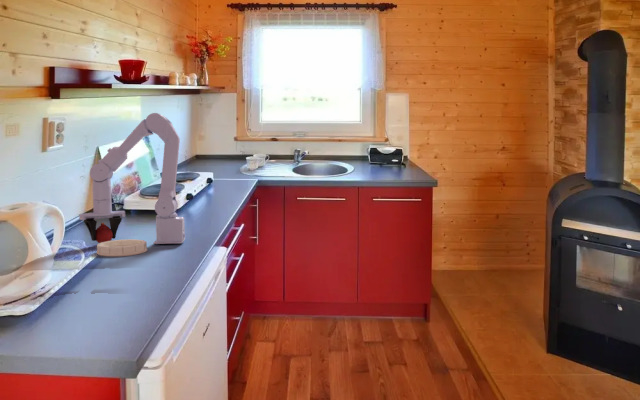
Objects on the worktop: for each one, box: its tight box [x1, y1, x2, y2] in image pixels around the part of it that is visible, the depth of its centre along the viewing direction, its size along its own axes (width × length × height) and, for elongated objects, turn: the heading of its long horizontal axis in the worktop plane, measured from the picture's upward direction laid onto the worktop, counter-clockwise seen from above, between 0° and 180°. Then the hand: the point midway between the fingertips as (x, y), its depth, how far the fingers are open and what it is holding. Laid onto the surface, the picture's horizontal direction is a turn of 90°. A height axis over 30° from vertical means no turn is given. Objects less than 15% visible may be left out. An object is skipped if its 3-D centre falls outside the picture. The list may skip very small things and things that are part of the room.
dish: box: [96, 239, 148, 258], centre depth 155 cm, size 15×15×3 cm
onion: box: [95, 222, 113, 244], centre depth 165 cm, size 6×6×8 cm
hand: (103, 239), depth 165 cm, fingers closed on onion, 6 cm apart
